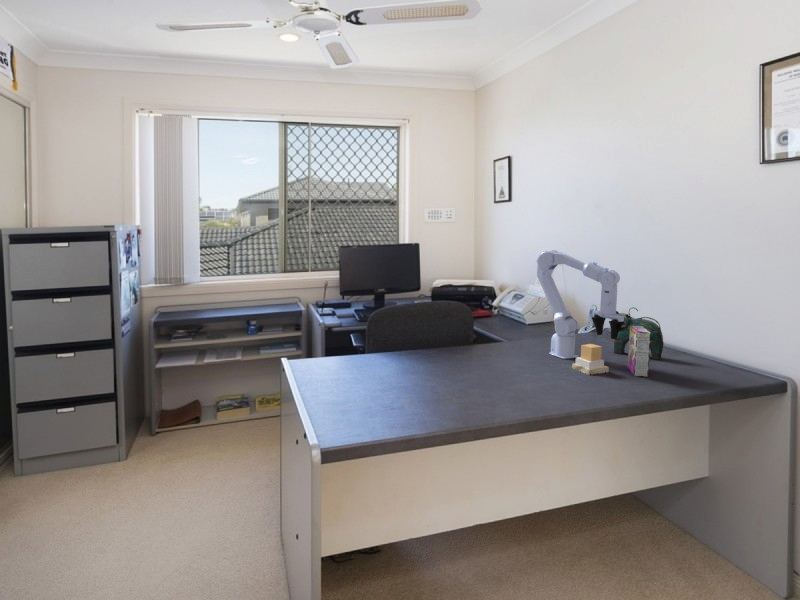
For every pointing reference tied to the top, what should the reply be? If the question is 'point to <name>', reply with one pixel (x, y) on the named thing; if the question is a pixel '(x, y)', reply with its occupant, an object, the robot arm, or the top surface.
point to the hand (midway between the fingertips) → (606, 336)
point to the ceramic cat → (652, 327)
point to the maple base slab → (590, 371)
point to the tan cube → (591, 352)
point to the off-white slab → (589, 363)
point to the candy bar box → (639, 351)
